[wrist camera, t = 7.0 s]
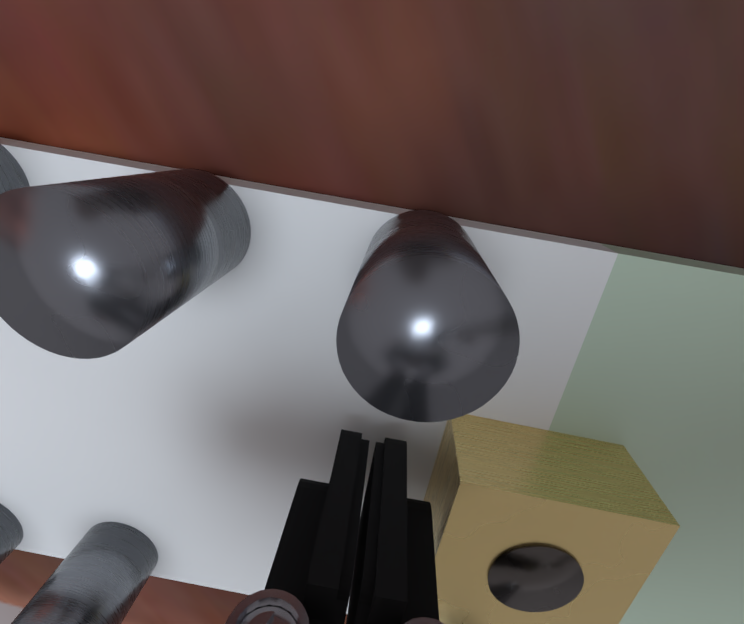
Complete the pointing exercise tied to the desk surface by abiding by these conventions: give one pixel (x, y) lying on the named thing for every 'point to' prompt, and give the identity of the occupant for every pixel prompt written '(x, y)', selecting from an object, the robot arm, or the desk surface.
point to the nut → (540, 526)
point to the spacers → (193, 275)
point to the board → (351, 412)
